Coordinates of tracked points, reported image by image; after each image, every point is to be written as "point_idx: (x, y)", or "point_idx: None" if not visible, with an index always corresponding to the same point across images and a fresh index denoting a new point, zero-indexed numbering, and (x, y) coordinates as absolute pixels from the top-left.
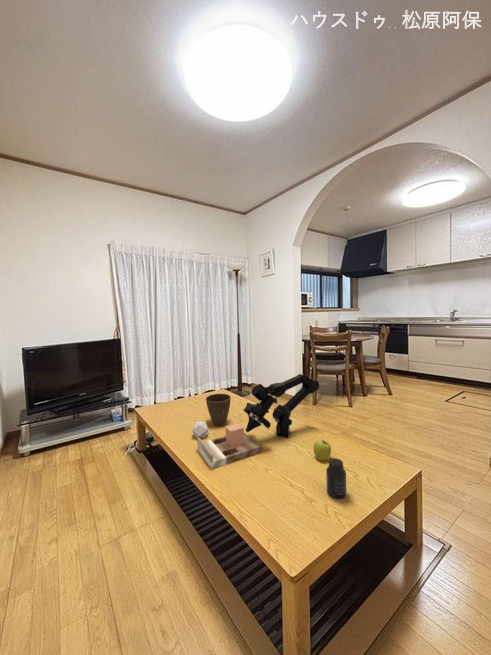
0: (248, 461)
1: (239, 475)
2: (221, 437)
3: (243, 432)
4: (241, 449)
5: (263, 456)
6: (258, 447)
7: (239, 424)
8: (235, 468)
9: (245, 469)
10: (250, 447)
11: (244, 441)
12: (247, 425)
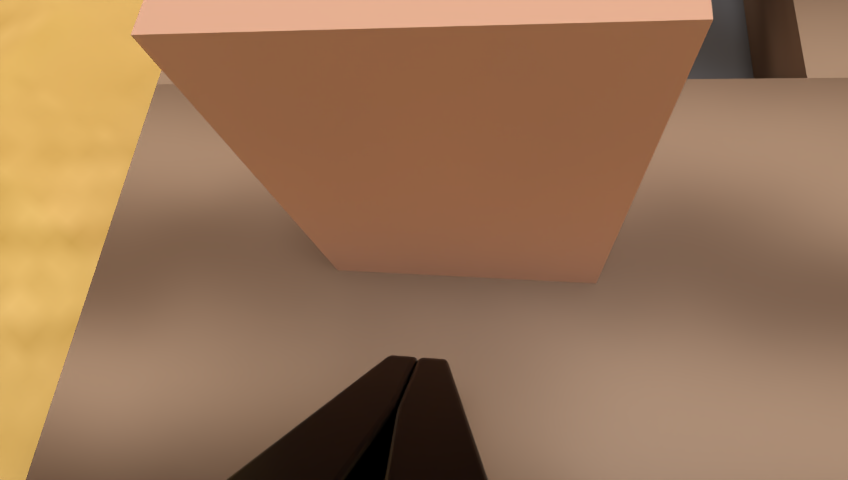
0: (107, 199)
1: (18, 20)
2: (842, 31)
3: (227, 129)
4: (223, 142)
5: (21, 444)
6: (45, 423)
7: (541, 20)
8: (125, 31)
9: (32, 102)
10: (157, 295)
11: (414, 323)
12: (457, 474)
